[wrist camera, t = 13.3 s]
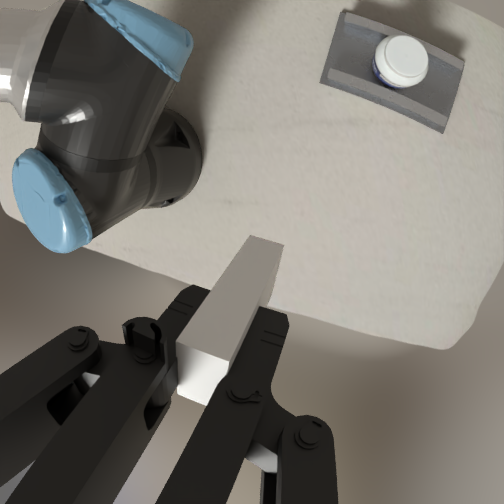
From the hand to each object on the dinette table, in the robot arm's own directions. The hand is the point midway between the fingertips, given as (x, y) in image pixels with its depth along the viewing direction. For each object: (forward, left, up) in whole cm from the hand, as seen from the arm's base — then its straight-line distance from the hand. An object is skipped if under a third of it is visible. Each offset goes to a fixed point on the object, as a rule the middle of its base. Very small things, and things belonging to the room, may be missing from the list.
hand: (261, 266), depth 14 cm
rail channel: (+5, +14, -27) cm, 31 cm away
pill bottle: (+5, +14, -27) cm, 30 cm away
